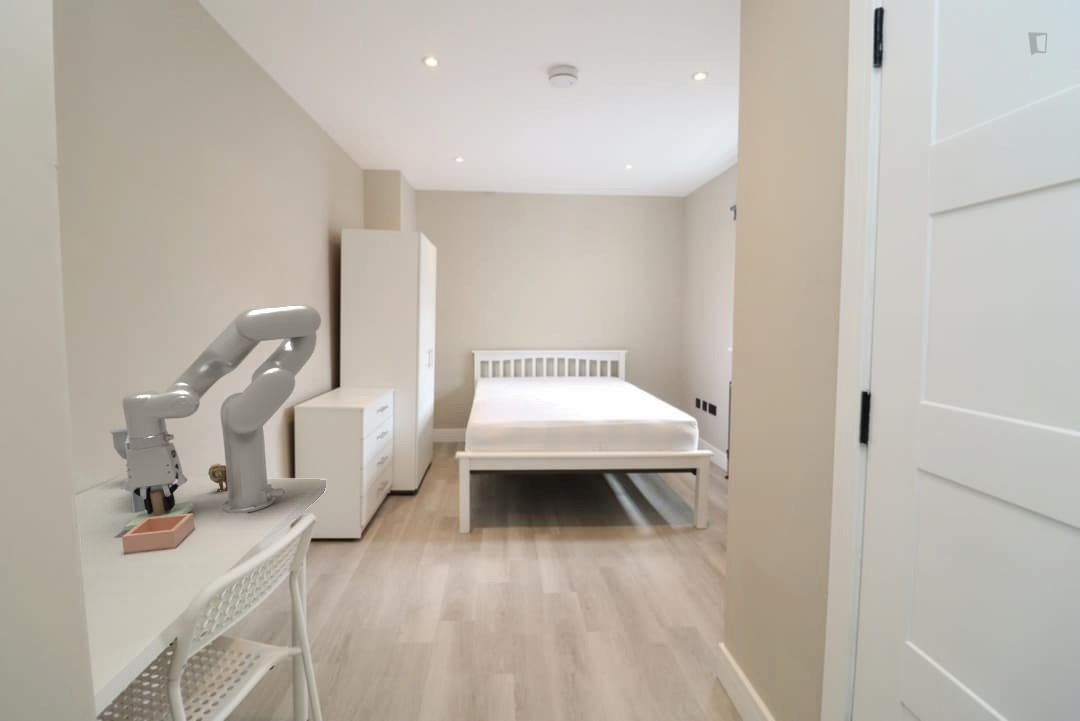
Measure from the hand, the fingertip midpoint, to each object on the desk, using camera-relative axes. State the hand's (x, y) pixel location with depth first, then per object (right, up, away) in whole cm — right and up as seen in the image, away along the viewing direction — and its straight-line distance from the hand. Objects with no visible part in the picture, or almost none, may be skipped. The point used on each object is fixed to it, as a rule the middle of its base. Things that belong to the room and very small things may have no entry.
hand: (161, 510), depth 124 cm
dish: (+8, -5, -9) cm, 13 cm away
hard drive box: (-14, -3, +15) cm, 21 cm away
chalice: (-31, -1, +28) cm, 42 cm away
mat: (-1, -4, 0) cm, 4 cm away
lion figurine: (+3, -1, +25) cm, 25 cm away
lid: (0, -2, 0) cm, 2 cm away
